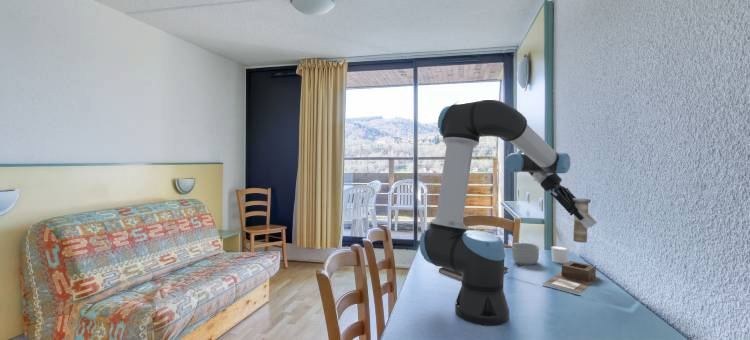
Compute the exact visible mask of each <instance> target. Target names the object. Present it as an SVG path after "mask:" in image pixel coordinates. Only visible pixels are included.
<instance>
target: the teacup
mask: <svg viewBox="0 0 750 340" xmlns="http://www.w3.org/2000/svg"><path fill="white" fill-rule="evenodd" d="M539 252H540V246H538V245H536V244H533V243H529V242H528V243H527V242H526V243H525V242H519V243H518V242H514V243H512V245H511V253H512V254H511V256H512V260H513V261H514V262H515V263H516V264H518V265H520V266H523V267H524V266H525V265H526V266H529V265H530V266H531V265H532V266H533V265H535V264H537V263H538V261H539V257H540V253H539Z"/></svg>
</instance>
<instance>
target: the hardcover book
mask: <svg viewBox="0 0 750 340" xmlns="http://www.w3.org/2000/svg"><path fill="white" fill-rule="evenodd" d="M508 269H510V268H509V267H507V266H504V274H506V273H508V271H509V270H508ZM438 272H439V273H441V274H445V275H447V276H450V277H452V278H455V279H458V280H460V281H462V273H460V272H456V271H453V270H450V269H447V268H443V267H439V268H438Z"/></svg>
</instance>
